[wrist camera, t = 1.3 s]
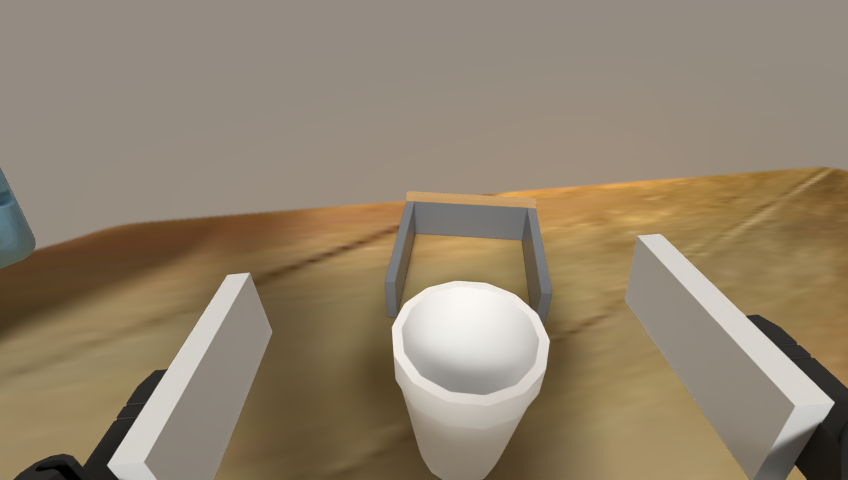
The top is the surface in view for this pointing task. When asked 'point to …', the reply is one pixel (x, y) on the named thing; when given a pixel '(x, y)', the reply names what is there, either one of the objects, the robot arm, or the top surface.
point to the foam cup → (467, 373)
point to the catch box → (471, 220)
